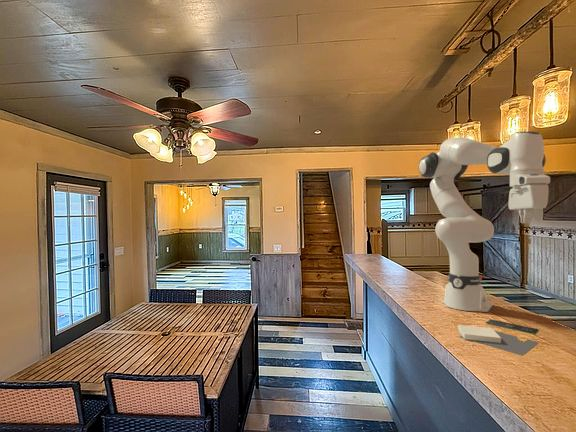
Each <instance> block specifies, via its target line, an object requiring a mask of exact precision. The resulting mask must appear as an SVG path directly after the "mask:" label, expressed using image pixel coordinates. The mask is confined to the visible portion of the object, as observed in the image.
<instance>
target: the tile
mask: <svg viewBox="0 0 576 432" xmlns="http://www.w3.org/2000/svg"><path fill="white" fill-rule="evenodd" d="M457 331H458V332H459V334H460V335H461V336H462V337H463V338H464V339H463V338H462V339H463V340H464V341H470V340H471V341H470V342H474V341H480V342H489V343H498V344H501V337H500V336H499V335H498V334H497V333H496V332H495V331H496V330H494V329H493V328H491V327H483V326H474V325H473V326H472V325H462V324H458V325H457Z"/></svg>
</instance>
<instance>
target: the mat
mask: <svg viewBox="0 0 576 432" xmlns="http://www.w3.org/2000/svg"><path fill="white" fill-rule="evenodd" d="M494 331H495V332H496V333H497V334H498V335H499V336H500V337H501V344H498V343H489V342H480V341H473V342H474V343H478V344H481V345H485V346H488V347H492V348H495V349H498V350H502V351H504V352H505V351H506V352H509V353H513V354H515V355H519V356H524V355H526V354H527V353H529V352H530V351H531V350H532V349H533V348H534V347H536V346H537V345H538V344H540V342H539V341H536V340H533V339H528V338H526V339H527V341H525V342H523V341H520V340H518V338H517V337H518V336H516V335H512V334H508V333H504V332H502V331H501V332H500V331H496V330H494ZM460 338H461V339H463V340H464V338H463V337H462V335H461V336H459V339H460ZM469 341H470V342H472V341H471V340H469Z"/></svg>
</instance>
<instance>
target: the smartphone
mask: <svg viewBox="0 0 576 432" xmlns="http://www.w3.org/2000/svg"><path fill="white" fill-rule="evenodd" d="M485 324H486V325H490V326H493V327H498V328H502V327H503V328H502V329H507V330H511V331H515V332H516V331H517V332H520V333H526V334H531V335H537V333H538V332H539V331H540V330H539V329H538V328H534V327H529V326H524V325H520V324H517V323H516V324H515V323H510V322H505V321H501V320H496V319H489V320H487V321H486V322H485Z"/></svg>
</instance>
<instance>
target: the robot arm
mask: <svg viewBox="0 0 576 432" xmlns="http://www.w3.org/2000/svg"><path fill="white" fill-rule="evenodd" d="M546 161H547V159H546V155H545V147H544V139H543V136H542V134H541V133H540V132H538V131H518V132H514V133H513V134H511V137H510V138H509V139H508V140H507V141H506V142H505V143H503V144H502V145H500V146H498V147H497V146H495V145H491V144H487V143H484V142H481V141H477V140H474V139H470V138H467V137H466V138H465V137H451V138H447V139H445V140H444V141H443V142H441V145H440V147H439V151H438V152H434V151H432V152H430V153H429V154H427V155H425V156H423V157H422V158H421V159H420V160H419V162H418V171H419V174H420V175H421V176H422V177H423V178H433V179H431V181H430V183H429V189H430V193H431V197H432V198H433V201H434V203H435V204H436V207H437V208H438V210H439V213H440V214H441V215H442V216H443V217H444V218H442V219H439V220H438V221H437V223H436V224H435V228H434V230H435V231H434V232H435V234H436V236H437V238H438V239H439V240H440V241H441V242H442V243H443V244H444V246H445V248H446V249H447V252H448V257H449V273H448V276H447V277H448V283H447V284H445V288H444V289H445V290H444V291H445V292H444V298H443V299H441V303H442V304H444V305H445V306H446V307H449V308H451V309H455V310H459V311H466V312H484V313H488V312H489V311H490V310H491V308H492V307H493V306H494V303H493V302H490V301H487V300H488V297H487V295H488V294H487V291H486V290H485V289H484V287H483V286H482V285H481V284H482V283H481V280H483V275H481V274H480V273H479V270H480V269H479V266H480V265H479V263H480V260H479V256H478V255H477V254H476V253H474V252H473V251H472V250H471V249H470V245H469V243H473V244H474V243H476V244H477V243H483V242H486V241H490V240H492V238H493V236H494V234H495V228H494V225H493V223H492V222H491V220H489V219H487V218H485V217H483V216H481V215H480V214H478V213H477V212H476V211H475V210H474V209H472V207H470V206H469V205H468V204H467V203H466V201H465V199H464V198H463V195H462V194H461V193H460V192H459V189H458V187H456V185H455V181H454V180H460V179H461V176H462V175H464V174H465V172H466V171H467V169H468V167H469V166H475V165H477V166H478V165H486V167H487V168H488V170H489V172H491V173H492V174H496V175H509V187H510V190H509V194H508V202H507V203H508V209H509V211H511V210H512V211H518V214H519V217H520V223H521V224H531V223H532V220H531V219H532V216H533V213H534V210H537V209H546V208H547V206H548V203H549V193H550V192H549V191H550V190H549V184H551V176H549V175H546V173H544V167H545V165H546Z"/></svg>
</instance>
